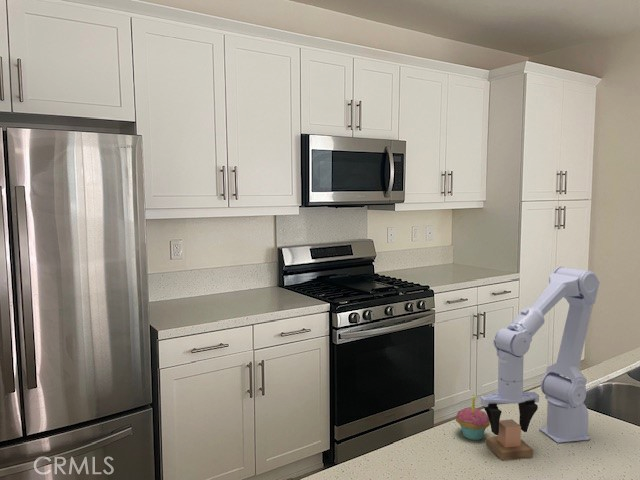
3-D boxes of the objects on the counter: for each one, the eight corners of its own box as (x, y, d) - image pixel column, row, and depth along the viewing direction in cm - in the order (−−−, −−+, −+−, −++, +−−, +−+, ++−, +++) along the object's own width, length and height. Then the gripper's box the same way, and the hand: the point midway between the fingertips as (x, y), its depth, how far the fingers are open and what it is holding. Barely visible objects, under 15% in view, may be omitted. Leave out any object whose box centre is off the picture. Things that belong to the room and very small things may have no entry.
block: (520, 446, 125) (521, 426, 124) (505, 447, 124) (505, 427, 124) (511, 438, 129) (512, 419, 128) (496, 439, 128) (497, 420, 128)
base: (514, 441, 131) (514, 434, 131) (532, 457, 123) (533, 449, 123) (485, 444, 130) (485, 437, 130) (502, 460, 122) (502, 452, 122)
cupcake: (491, 444, 130) (492, 398, 129) (456, 441, 131) (457, 396, 130) (487, 429, 138) (488, 386, 137) (454, 427, 140) (455, 384, 139)
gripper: (528, 370, 130) (526, 422, 131) (475, 374, 128) (474, 427, 129) (545, 380, 123) (543, 434, 124) (489, 384, 121) (488, 440, 122)
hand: (509, 431), depth 126 cm, fingers open, 7 cm apart
